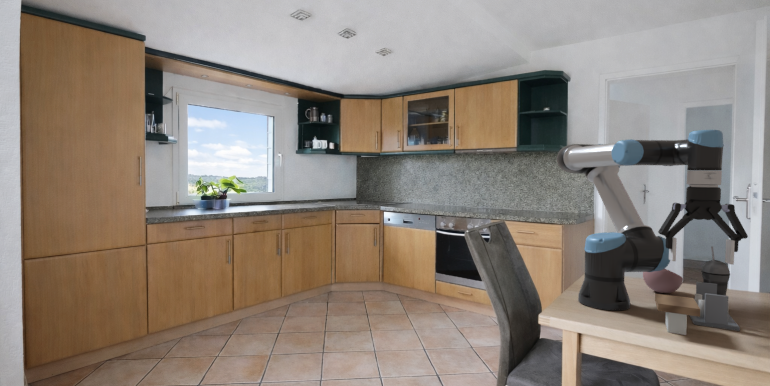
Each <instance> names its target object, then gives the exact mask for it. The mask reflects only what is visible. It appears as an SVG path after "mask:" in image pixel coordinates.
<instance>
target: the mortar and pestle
mask: <svg viewBox="0 0 770 386" xmlns="http://www.w3.org/2000/svg"><path fill="white" fill-rule="evenodd" d="M642 277H643V281H644V283H645V284H646V286H647V287H649V289H651V290H653V291H654V292H655V293H658V294H670V293H673V292H675V291H677V290H679V288H680V287H681V286H682V284H683V282H684V278H683V277H682V276H681V275H680V274H677V273H676V272H673V271H671V270H669V269H667V268H665V269H663V270H661V271H653V272H642Z"/></svg>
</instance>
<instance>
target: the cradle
mask: <svg viewBox="0 0 770 386" xmlns="http://www.w3.org/2000/svg"><path fill="white" fill-rule="evenodd" d="M695 283H696V284H695V285H696V286H695V293H694V300H695V301H696V303H697V305H698V306H699V308H700V317H698V316H691V315H688V316H689V318H690V320H691V322H692V324H693V325H696V326H701V327H702V326H703V327H709V328H716V329H723V330H729V331H737V332H740V330H741V327H740V326H739V324H737V322H736V321H735V319H733V317H732V316H731V315H730V313H729V305H730V303H729V296H728V295H726V296H725V295H717V284H714V283H704V282H702V281H696V282H695Z"/></svg>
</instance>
